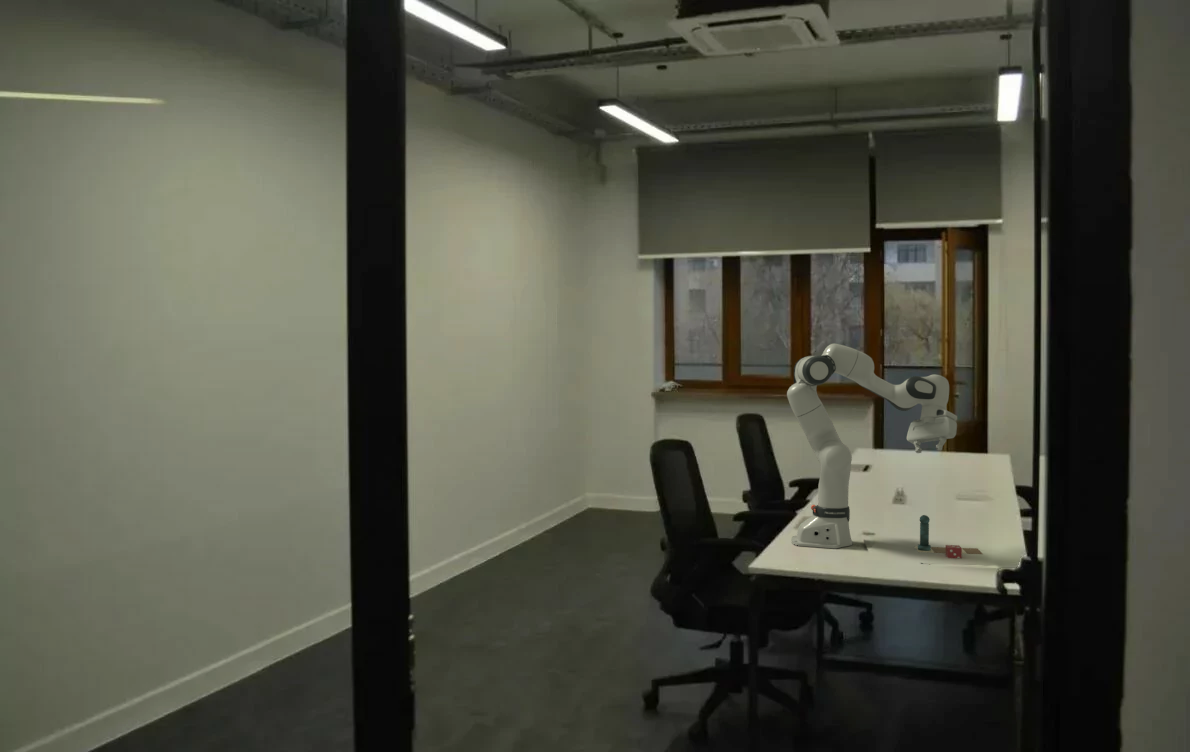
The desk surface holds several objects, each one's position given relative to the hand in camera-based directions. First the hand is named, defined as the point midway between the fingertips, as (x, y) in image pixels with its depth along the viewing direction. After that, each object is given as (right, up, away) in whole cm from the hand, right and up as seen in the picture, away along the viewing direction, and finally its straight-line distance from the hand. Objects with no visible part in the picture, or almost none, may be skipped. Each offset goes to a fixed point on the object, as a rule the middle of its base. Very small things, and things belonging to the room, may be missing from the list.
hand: (928, 451), depth 354 cm
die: (+2, -36, -19) cm, 41 cm away
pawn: (-4, -35, -8) cm, 36 cm away
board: (+4, -36, -9) cm, 37 cm away
